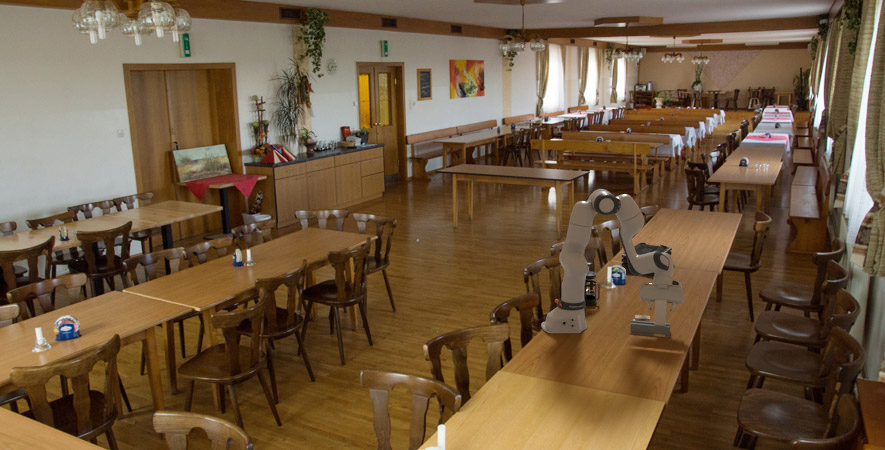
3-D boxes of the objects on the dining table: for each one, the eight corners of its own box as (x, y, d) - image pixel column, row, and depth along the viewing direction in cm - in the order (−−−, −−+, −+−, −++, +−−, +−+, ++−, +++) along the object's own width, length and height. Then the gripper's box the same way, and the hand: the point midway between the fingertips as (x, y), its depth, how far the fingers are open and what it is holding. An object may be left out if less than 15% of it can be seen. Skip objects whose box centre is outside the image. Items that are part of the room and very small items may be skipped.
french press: (575, 303, 366) (575, 263, 361) (582, 298, 374) (582, 259, 369) (595, 307, 359) (596, 266, 354) (602, 302, 367) (603, 262, 362)
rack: (629, 335, 319) (630, 325, 318) (632, 325, 332) (632, 315, 331) (669, 339, 313) (669, 329, 312) (670, 329, 326) (670, 319, 325)
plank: (654, 332, 320) (655, 300, 316) (654, 331, 321) (655, 299, 318) (665, 333, 318) (666, 301, 314) (665, 332, 320) (666, 300, 316)
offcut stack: (632, 327, 327) (632, 317, 326) (633, 323, 332) (633, 314, 331) (649, 329, 324) (650, 319, 323) (650, 325, 329) (650, 315, 328)
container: (671, 263, 439) (672, 243, 436) (654, 276, 411) (655, 255, 408) (638, 258, 451) (639, 239, 448) (620, 271, 423) (620, 251, 421)
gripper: (640, 279, 325) (637, 305, 319) (684, 283, 318) (683, 309, 311) (640, 285, 330) (638, 310, 324) (684, 289, 323) (683, 314, 316)
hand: (660, 310), depth 317 cm, fingers open, 8 cm apart
